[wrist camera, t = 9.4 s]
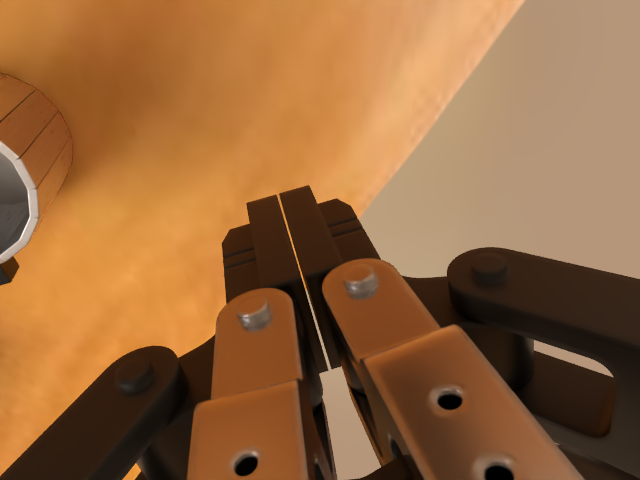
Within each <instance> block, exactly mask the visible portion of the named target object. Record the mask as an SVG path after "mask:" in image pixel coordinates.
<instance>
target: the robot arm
mask: <svg viewBox="0 0 640 480" xmlns="http://www.w3.org/2000/svg"><path fill="white" fill-rule="evenodd" d="M279 195H280V199H281V203H282V206H283V209H284V213H285V216H286V220H287V223H288V227H289V230H290V234H291V237H292V241H293V244H294V248H295V251H296V255H297V258H298V261H299V265H300V268H301V271H302V275H303V278H304V281H305V285H306V288H307V291H308V294H309V298H310V301H311V304H312V307H313V310H314V314H315V317H316V320H317V323H318V327H319V330H320V333H321V336H322V339H323V343H324V346H325V349H326V353H327V356H328V359H329V362H330V366H331V369H334V368H337V367H341V366H342V369H343V371H344V375H345V377H346V381H347V385H348V388H349V392H350V396H351V399H352V401H353V404H354V406H355V408H356V411H357V413H358V415H359V417H360V420H361V422H362V424H363V426H364V429H365V431H366V433H367V435H368V438H369V440H370V442H371V444H372V447H373V449H374V451H375V453H376V456H377V458H378V460H379V463H380V465H381V468H379V469H377V470H376V471H374V472H373V473H371V474H369V475H367V476H365V477H363V478H360V479H351V480H640V279H636V278H631V277H627V276H623V275H618V274H614V273H610V272H605V271H601V270H596V269H592V268H588V267H584V266H579V265H575V264H571V263H566V262H562V261H557V260H553V259H548V258H544V257H540V256H535V255H531V254H527V253H522V252H518V251H514V250H509V249H504V248H494V247H486V248H478V249H474V250H470V251H467V252H465V253H463V254H461V255H459V256H458V257H456V258H455V259H454V260H453V261H452V262H451V263H450V265H449V266H448V269H447V276H446V277H433V278H411V277H405V276H402V275H400V273H399V272H398V271H397V269H396V268H395V267H394V266H393V265H391V264H390V263H388V262H386V261H383V260H381V258H380V257H379V255H378V253H377V251H376V250H375V248H374V246H373V244H372V243H371V241H370V239H369V237H368V236H367V234H366V232H365V230H364V229H363V227H362V225H361V223H360V222H359V220H358V219H357V216H356V214H355V213H354V211H353V209H352V207H351V206H350V205H348V204H346V203H344V202H342V201H340V200H338V199H333V200H330V201H326V202H323V203H319V204H317V202H316V200H315V197H314V195H313V193H312V191H311V188H310V186H309V185H307V186H304V187H300V188H297V189H293V190H290V191H286V192H283V193H279ZM246 204H247V210H248V216H249V221H250V224H247V225H244V226H240V227H237V228H233V229H230V230H229V232H228V234H227V236H226V237H225V239H224V241H223V242H222V250H223V258H224V259H223V263H224V277H225V290H226V303H227V304H226V305H225V306H224V308H223V309H222V310H221V311H220V313H219V315H218V317H217V321H216V333H215V335H214V336H213V337H212V338H211V339H209V340H208V341H207V342H205V343H204V344H202V345H201V346H199V347H197V348H196V349H194V350H192V351H190V352H188V353H186V354H185V355H183V356H181V357H179V358H177V356H176V354H175V353H174V352H173V351H172V350H171V349H169V348H167V347H163V346H149V347H144V348H140V349H137V350H134V351H132V352H130V353H128V354H126V355H124V356H122V357H121V358H119V359H118V360H116V361H115V362H114V363H112V364H111V365H110V366H109V367H108V368H107V369H106V370H105V371H104V372H103V373H102V374H101V375H100V376H99V377H98V378H97V379H96V380H95V381H94V382H93V383H92V384H91V385H90V386H89V387H88V388H87V389H86V390H85V391H84V392H83V393H82V394H81V395H80V396H79V397H78V398H77V399H76V400H75V401H74V402H73V403H72V404H71V405H70V406H69V407H68V408H67V409H66V410H65V411H64V412H63V413H62V414H61V415H60V416H59V417H58V418H57V420H56V421H55V422H54V423H53V424H52V425H51V426H50V427H49V428H48V429H47V430H46V431H45V432H44V433H43V434H42V435H41V436H40V437H39V438H38V439H37V440H36V441H35V442H34V443H33V444H32V445H31V446H30V447H29V448H28V449H27V450H26V451H25V452H24V453H23V454H22V455H21V456H20V457H19V458H18V459H17V460H16V461H15V462H14V463H13V464H12V465H11V466H10V467H9V468H8V469H7V470H6V471H5V472H4V473H3V474H2V475H1V476H0V480H122V479H123V478H124V477H125V476H126V474H127V473H128V472H129V471H130V469H131V468H132V467H133V466H134V464H135V463H137V465H138V466H139V468H140V469H141V472H140V474H139V475H138V476H137V478H136V479H135V480H337V474H336V469H335V463H334V457H333V451H332V445H331V439H330V433H329V427H328V421H327V416H326V410H325V405H324V402H323V399H322V395H323V388H322V383H321V380H320V376H319V373H322V372H325V371H328V368H327V364H326V360H325V357H324V353H323V350H322V347H321V343H320V340H319V336H318V333H317V330H316V326H315V322H314V319H313V316H312V312H311V309H310V305H309V302H308V299H307V295H306V291H305V288H304V284H303V281H302V278H301V274H300V271H299V268H298V264H297V261H296V258H295V254H294V251H293V248H292V245H291V241H290V238H289V235H288V231H287V228H286V225H285V221H284V218H283V215H282V211H281V208H280V205H279V202H278V198H277V195H273V196H269V197H266V198H262V199H259V200H255V201H252V202H248V203H246ZM534 340H537V341H539V342H543V343H546V344H548V345H552V346H555V347H558V348H561V349H564V350H567V351H570V352H573V353H576V354H579V355H582V356H585V357H588V358H591V359H593V360H596V361H597V362H599V363H601V364H602V365H604V366H605V367H606V368H607V369H608V370H609V371H610V372H611V373H612V375H613V377H614V378H613V377H610V376H607V375H604V374H601V373H598V372H595V371H592V370H589V369H587V368H584V367H581V366H578V365H575V364H572V363H569V362H566V361H563V360H560V359H557V358H554V357H551V356H549V355H545V354H543V353H540V352H537V351H534ZM555 443H557V444H555ZM558 444H559V445H558Z"/></svg>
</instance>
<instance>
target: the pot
mask: <svg viewBox="0 0 640 480" xmlns="http://www.w3.org/2000/svg"><path fill="white" fill-rule="evenodd" d="M72 160H73V153H72V137H71V133H70V131H69V129H68V127H67V125H66V123H65V121H64V119H63V117H62V115H61V113H60V111H59V110H58V109H57V108H56V107H55V106H54V105H53V104H52V103H51V102H50V101H49V100H48V99H47V98H46V97H45V96H44V95H43V94H42V93H41V92H40V91H39V90H36V88H34V87H32V86H30V85H28V84H26V83H24V82H22V81H20V80H18V79H15V78H13V77H11V76H9V75H6V74H0V285H3V284H7V283H10V282H11V281H12V279H13V278H14V276H15V274H16V272H17V270H18V269H19V265H18V263H17V261H16V260H15V258H14V257H13V256H14V255H15V254H16V253H18V252H19V251H20V250H21V249H23V248H24V247H25V246H26V245H27V244H28V243H29V242H30V240H31V238H32V236H33V235H34V233H35V231H36V229H37V228H38V226H39V224H40V222H41V220H42V219H43V217H44V215H45V213H46V212H47V210H48V208H49V206H50V205H51V203H52V201H53V199H54V197H55V196H56V194H57V192H58V190H59V189H60V187H61V185H62V183H63V182H64V179H65V177H66V175H67V173H68V171H69V168H70V166H71V164H72Z"/></svg>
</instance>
